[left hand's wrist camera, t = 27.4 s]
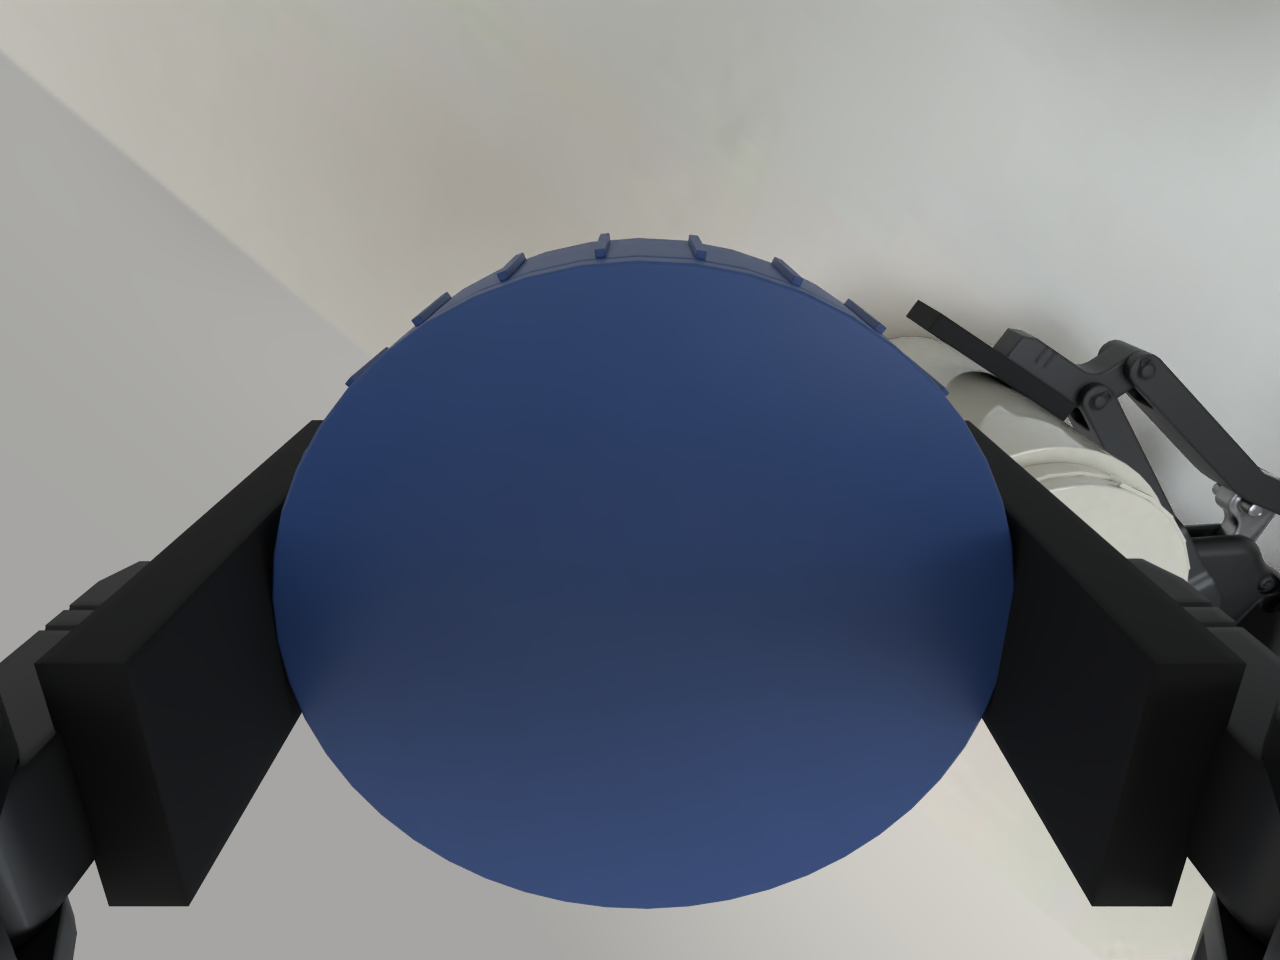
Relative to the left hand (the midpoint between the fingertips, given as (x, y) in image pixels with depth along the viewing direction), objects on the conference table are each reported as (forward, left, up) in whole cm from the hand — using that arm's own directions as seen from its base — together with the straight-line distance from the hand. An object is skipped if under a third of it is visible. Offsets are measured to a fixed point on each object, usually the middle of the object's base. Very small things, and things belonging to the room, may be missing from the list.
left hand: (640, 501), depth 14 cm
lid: (0, 0, +4) cm, 4 cm away
